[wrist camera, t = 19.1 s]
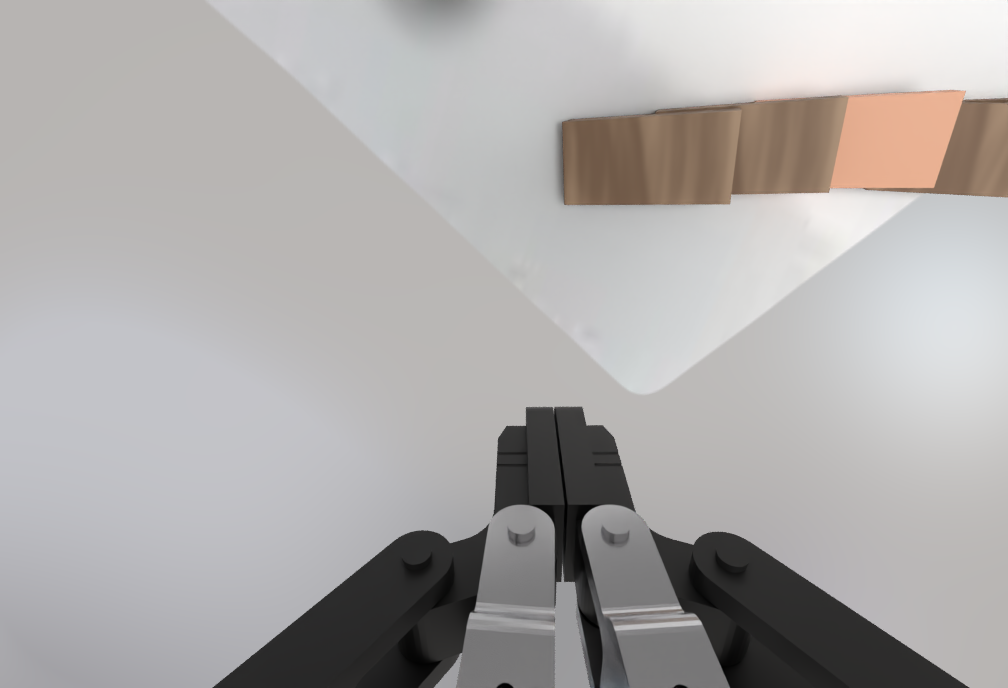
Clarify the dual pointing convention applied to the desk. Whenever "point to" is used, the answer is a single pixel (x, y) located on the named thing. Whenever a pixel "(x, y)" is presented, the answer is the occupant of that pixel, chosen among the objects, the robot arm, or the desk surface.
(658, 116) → the domino
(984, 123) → the domino
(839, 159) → the domino
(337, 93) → the desk surface
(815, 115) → the domino
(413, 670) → the robot arm
